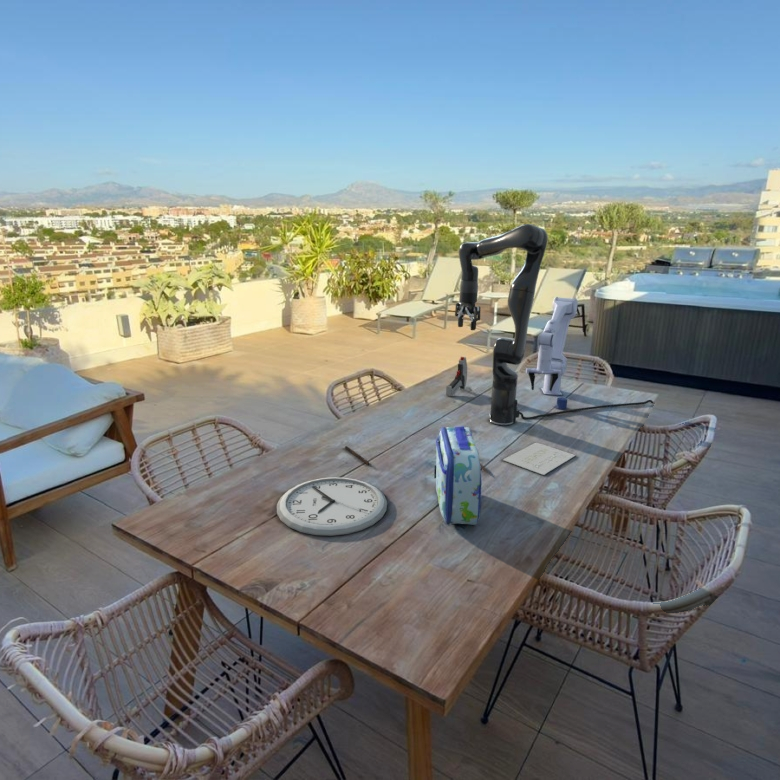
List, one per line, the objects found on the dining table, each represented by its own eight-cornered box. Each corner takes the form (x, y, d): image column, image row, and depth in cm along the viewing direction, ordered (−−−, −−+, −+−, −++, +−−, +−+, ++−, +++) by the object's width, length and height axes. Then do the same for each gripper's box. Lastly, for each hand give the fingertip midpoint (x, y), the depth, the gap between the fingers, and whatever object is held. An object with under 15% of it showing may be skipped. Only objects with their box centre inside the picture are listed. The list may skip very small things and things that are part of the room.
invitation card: (535, 442, 186) (575, 454, 176) (535, 442, 187) (575, 455, 176) (502, 459, 172) (543, 474, 162) (502, 460, 172) (543, 475, 162)
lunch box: (432, 483, 156) (435, 417, 149) (468, 484, 156) (473, 418, 149) (439, 532, 131) (443, 455, 125) (482, 533, 131) (488, 456, 124)
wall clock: (392, 527, 129) (268, 531, 127) (391, 533, 130) (269, 537, 127) (383, 473, 158) (282, 475, 155) (383, 478, 158) (282, 480, 156)
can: (554, 407, 225) (555, 397, 224) (561, 405, 227) (563, 396, 225) (560, 410, 222) (561, 400, 220) (568, 408, 223) (569, 399, 222)
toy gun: (446, 363, 232) (463, 355, 243) (446, 397, 237) (462, 387, 249) (450, 364, 230) (467, 356, 242) (450, 398, 236) (466, 388, 247)
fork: (483, 474, 162) (483, 469, 161) (463, 454, 176) (463, 448, 176) (491, 474, 162) (491, 468, 162) (470, 453, 177) (470, 447, 176)
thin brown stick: (344, 448, 179) (344, 445, 179) (346, 448, 179) (346, 445, 179) (367, 464, 167) (367, 462, 167) (368, 464, 167) (368, 461, 167)
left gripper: (486, 292, 219) (483, 330, 224) (465, 288, 231) (462, 325, 236) (472, 293, 216) (470, 332, 220) (451, 289, 227) (449, 326, 232)
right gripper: (528, 361, 223) (525, 391, 227) (563, 362, 222) (560, 393, 226) (526, 357, 230) (523, 386, 234) (560, 359, 228) (557, 388, 232)
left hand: (466, 328), depth 228 cm, fingers open, 8 cm apart
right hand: (541, 389), depth 230 cm, fingers open, 7 cm apart
